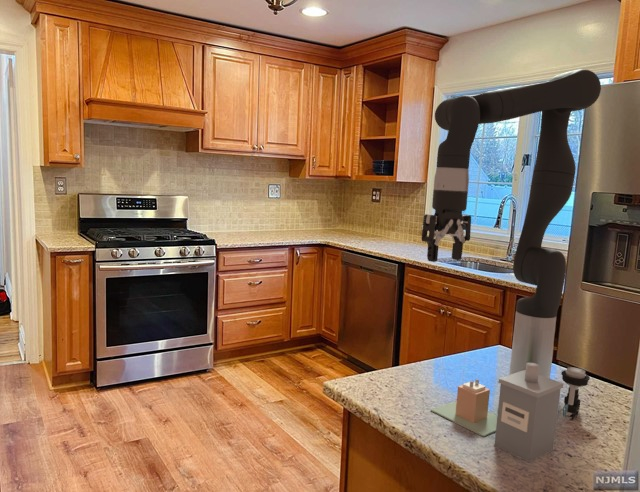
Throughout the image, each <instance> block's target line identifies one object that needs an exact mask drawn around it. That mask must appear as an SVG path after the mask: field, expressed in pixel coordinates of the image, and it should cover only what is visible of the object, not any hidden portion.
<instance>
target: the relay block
mask: <svg viewBox="0 0 640 492" xmlns="http://www.w3.org/2000/svg"><path fill="white" fill-rule="evenodd" d="M490 394H491V389H490V388H487V387H486V385H484V384H481V383H480V379H478V378H476V379H475V381H474V380H469V381H468V382H465V383H462V384H461V385H458V386H457V393H456V401H457V403H456V413H455V414H456V415H458V416H460V417H462V418H464V419H467V420H469V421H471V422H473V423H475V422H477V421H480V420H482V419H485V418H487V414H488V412H489V403H490V402H489V401H490Z"/></svg>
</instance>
